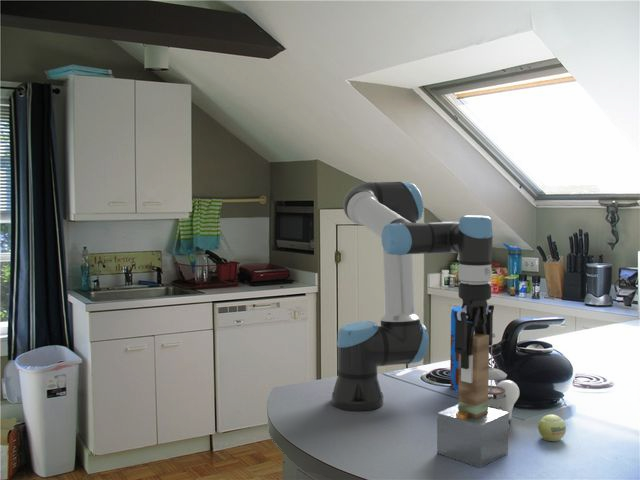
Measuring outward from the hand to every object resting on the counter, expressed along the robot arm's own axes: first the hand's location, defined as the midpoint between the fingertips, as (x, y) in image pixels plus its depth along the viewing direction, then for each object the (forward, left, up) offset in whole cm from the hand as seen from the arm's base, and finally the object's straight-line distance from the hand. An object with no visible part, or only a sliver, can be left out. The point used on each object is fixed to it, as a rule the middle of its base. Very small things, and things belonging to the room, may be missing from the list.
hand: (473, 378), depth 166 cm
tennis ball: (+9, +22, -18) cm, 30 cm away
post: (0, 0, -12) cm, 12 cm away
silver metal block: (0, 0, -18) cm, 18 cm away
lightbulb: (-6, +26, -18) cm, 33 cm away
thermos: (-30, +44, -18) cm, 56 cm away
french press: (-8, +20, -18) cm, 28 cm away
